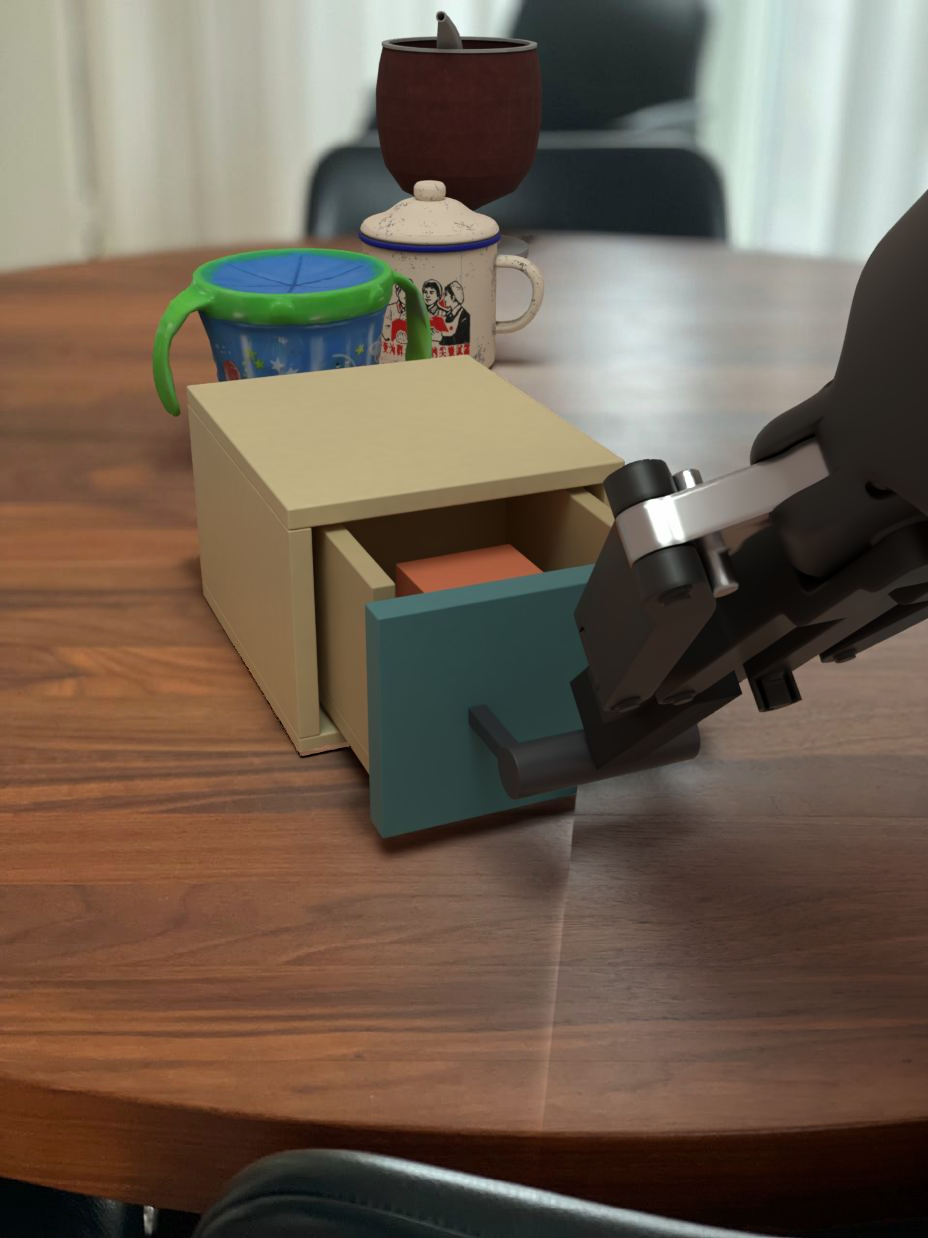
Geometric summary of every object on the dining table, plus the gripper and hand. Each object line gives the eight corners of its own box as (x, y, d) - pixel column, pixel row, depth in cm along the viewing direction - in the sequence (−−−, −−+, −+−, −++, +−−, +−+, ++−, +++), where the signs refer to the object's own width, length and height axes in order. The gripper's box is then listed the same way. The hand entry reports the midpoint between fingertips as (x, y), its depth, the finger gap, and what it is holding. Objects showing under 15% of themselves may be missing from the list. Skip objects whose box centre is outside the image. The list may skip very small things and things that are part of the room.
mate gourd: (396, 233, 134) (394, -3, 125) (546, 239, 132) (554, 0, 123) (357, 270, 120) (351, 8, 111) (524, 278, 118) (531, 12, 109)
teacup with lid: (345, 378, 93) (340, 191, 88) (380, 340, 101) (377, 167, 96) (530, 390, 91) (535, 200, 86) (551, 351, 99) (557, 175, 94)
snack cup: (186, 504, 73) (169, 305, 69) (141, 440, 82) (123, 259, 78) (468, 463, 79) (469, 277, 74) (398, 407, 88) (395, 237, 83)
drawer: (764, 833, 46) (790, 614, 43) (432, 919, 42) (431, 685, 39) (528, 607, 61) (533, 430, 57) (265, 655, 57) (254, 468, 53)
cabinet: (612, 693, 56) (626, 459, 52) (300, 758, 52) (287, 509, 48) (466, 552, 68) (467, 353, 64) (202, 595, 64) (185, 384, 60)
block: (507, 652, 55) (509, 543, 53) (562, 706, 51) (567, 591, 49) (397, 675, 53) (395, 563, 51) (446, 732, 50) (446, 614, 48)
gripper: (1393, 50, 25) (752, 568, 46) (737, 78, 20) (362, 640, 41) (1606, 445, 23) (833, 796, 44) (932, 578, 18) (433, 898, 39)
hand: (605, 720), depth 42 cm, fingers closed
